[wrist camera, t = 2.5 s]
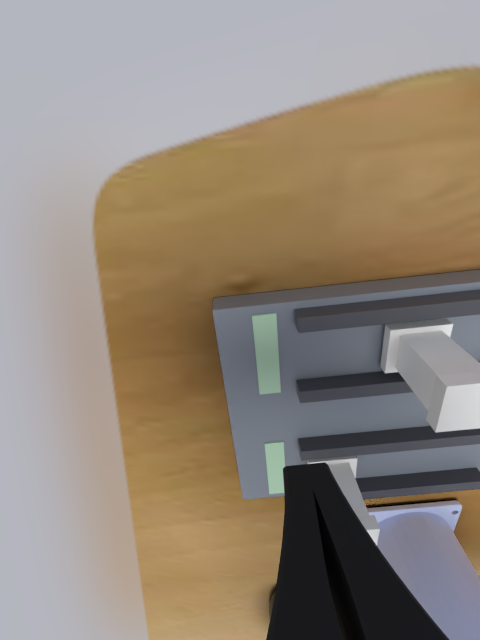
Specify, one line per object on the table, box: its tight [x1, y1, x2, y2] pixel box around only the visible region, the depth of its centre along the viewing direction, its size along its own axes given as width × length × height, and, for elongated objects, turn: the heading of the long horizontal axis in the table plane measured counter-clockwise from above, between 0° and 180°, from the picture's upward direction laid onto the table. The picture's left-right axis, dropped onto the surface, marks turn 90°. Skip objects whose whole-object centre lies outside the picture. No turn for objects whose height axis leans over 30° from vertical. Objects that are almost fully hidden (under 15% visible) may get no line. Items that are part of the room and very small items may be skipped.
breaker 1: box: [307, 456, 380, 545], centre depth 19 cm, size 3×3×5 cm
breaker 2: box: [380, 318, 480, 433], centre depth 15 cm, size 3×3×5 cm
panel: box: [212, 269, 480, 500], centre depth 19 cm, size 15×18×2 cm
